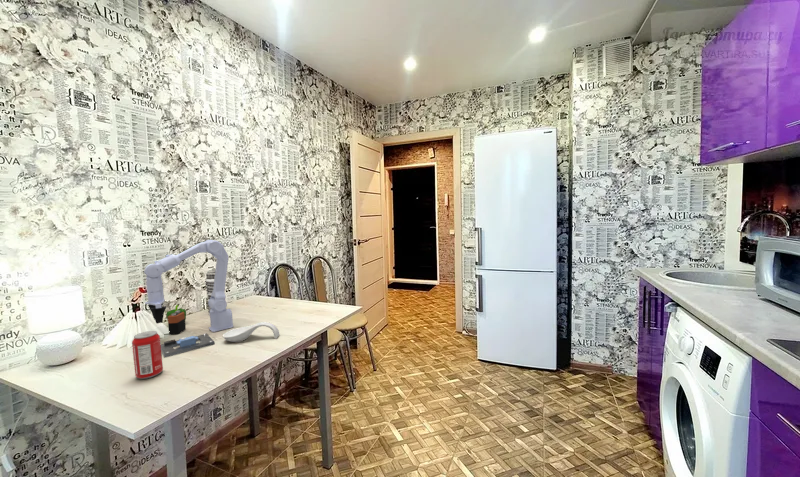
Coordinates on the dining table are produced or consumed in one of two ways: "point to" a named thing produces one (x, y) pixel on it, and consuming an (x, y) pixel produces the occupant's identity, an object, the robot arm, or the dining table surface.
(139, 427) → the dining table surface
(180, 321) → the battery
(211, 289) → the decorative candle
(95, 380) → the dining table surface
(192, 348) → the plate
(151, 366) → the soda can
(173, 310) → the bell pepper
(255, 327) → the spoon rest
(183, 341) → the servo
